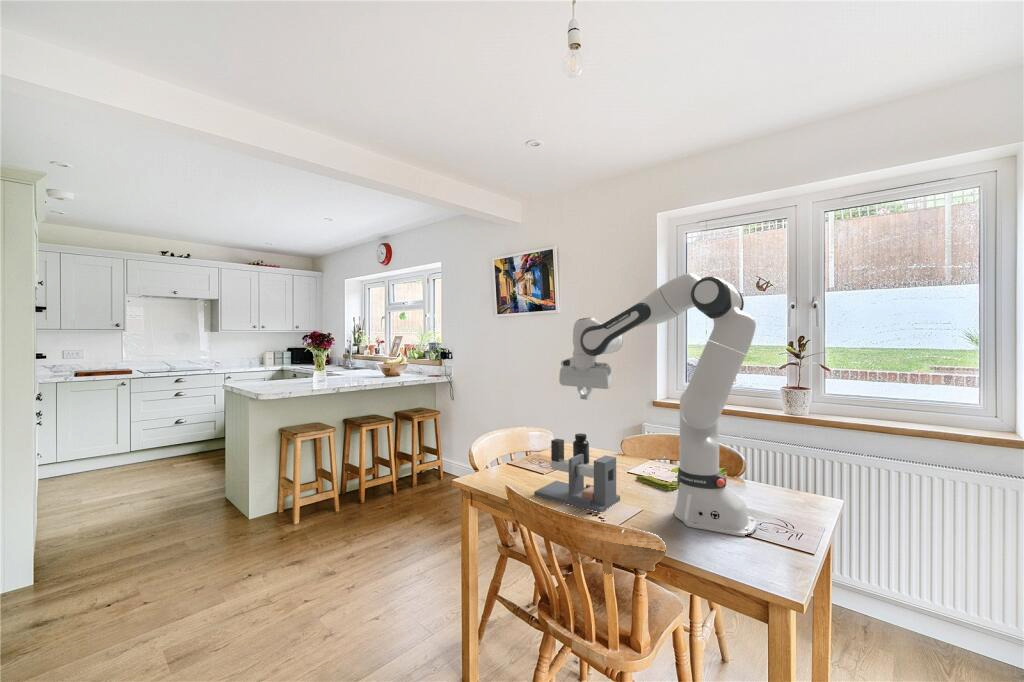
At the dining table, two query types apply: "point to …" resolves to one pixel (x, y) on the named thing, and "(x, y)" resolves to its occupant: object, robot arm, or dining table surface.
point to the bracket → (574, 488)
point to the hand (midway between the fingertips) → (584, 399)
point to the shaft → (563, 465)
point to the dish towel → (667, 485)
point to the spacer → (588, 493)
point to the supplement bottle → (581, 447)
